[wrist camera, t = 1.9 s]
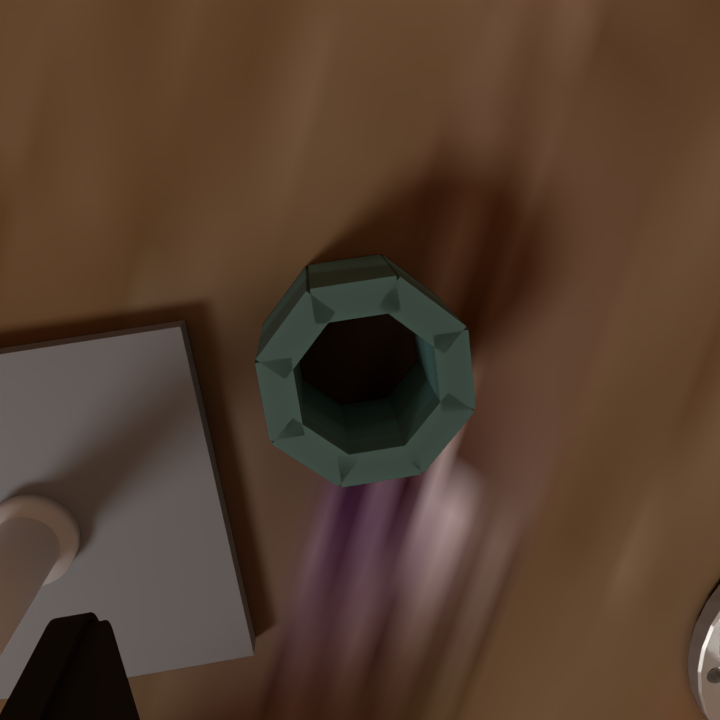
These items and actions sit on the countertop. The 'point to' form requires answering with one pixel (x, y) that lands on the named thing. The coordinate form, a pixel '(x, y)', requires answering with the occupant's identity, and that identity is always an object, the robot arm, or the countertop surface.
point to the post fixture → (115, 503)
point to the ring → (376, 417)
